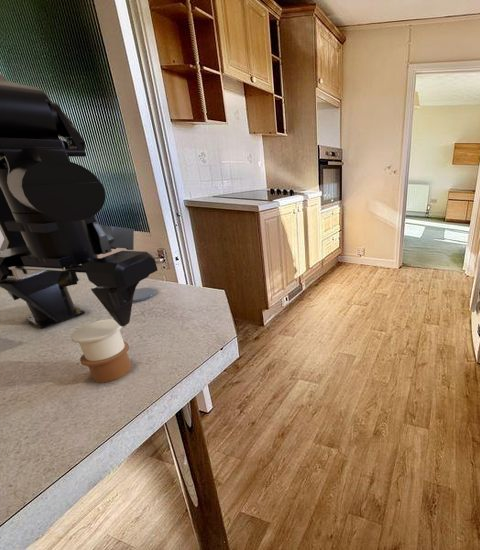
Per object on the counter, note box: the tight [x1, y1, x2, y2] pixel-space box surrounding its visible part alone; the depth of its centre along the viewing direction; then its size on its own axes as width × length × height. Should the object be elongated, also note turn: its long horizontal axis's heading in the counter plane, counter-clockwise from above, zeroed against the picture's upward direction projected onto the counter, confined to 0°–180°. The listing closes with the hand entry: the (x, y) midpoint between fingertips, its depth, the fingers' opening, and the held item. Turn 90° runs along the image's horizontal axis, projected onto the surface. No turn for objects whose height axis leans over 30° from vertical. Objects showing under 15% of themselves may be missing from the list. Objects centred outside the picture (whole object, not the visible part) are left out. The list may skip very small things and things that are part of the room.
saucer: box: [132, 287, 156, 303], centre depth 66 cm, size 6×6×1 cm
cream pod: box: [70, 318, 125, 361], centre depth 41 cm, size 5×5×4 cm
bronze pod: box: [79, 340, 133, 384], centre depth 43 cm, size 5×5×4 cm
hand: (94, 322), depth 40 cm, fingers open, 9 cm apart
